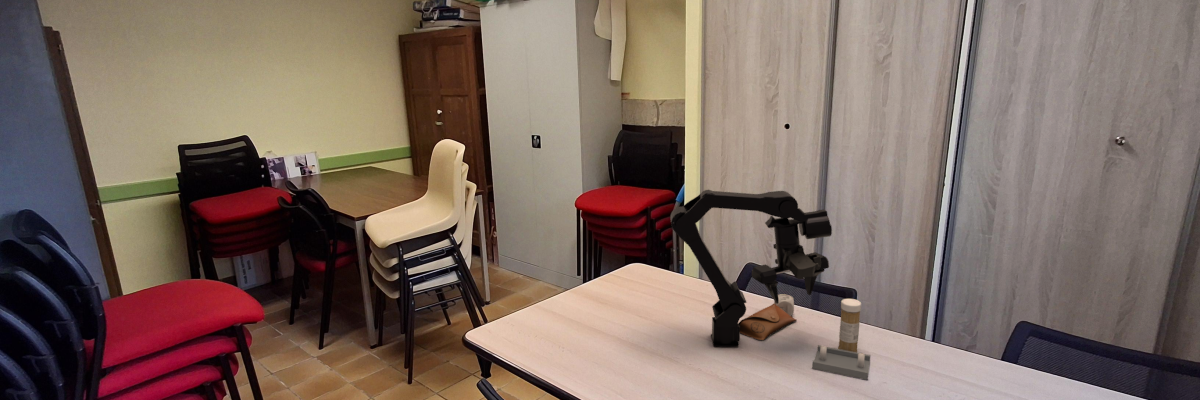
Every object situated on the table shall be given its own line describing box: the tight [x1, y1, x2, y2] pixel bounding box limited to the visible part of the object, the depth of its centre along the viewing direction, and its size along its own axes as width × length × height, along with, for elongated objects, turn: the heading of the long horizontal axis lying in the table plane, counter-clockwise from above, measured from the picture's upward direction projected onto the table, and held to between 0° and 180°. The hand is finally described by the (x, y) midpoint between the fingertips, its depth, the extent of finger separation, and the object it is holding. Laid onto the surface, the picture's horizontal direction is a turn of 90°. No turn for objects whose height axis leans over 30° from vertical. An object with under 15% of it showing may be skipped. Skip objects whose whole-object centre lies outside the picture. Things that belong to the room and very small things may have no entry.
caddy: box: [811, 344, 871, 381], centre depth 135 cm, size 12×9×4 cm
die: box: [773, 293, 795, 317], centre depth 165 cm, size 5×5×5 cm
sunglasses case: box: [738, 302, 797, 341], centre depth 157 cm, size 18×7×7 cm, turn 133°
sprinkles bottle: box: [837, 298, 862, 353], centre depth 141 cm, size 5×5×14 cm
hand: (793, 298), depth 145 cm, fingers open, 9 cm apart
